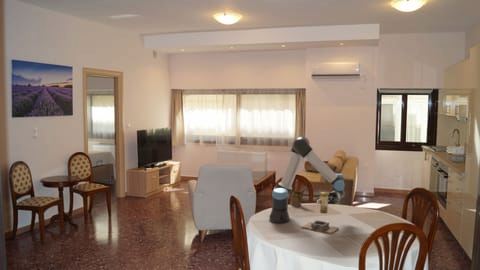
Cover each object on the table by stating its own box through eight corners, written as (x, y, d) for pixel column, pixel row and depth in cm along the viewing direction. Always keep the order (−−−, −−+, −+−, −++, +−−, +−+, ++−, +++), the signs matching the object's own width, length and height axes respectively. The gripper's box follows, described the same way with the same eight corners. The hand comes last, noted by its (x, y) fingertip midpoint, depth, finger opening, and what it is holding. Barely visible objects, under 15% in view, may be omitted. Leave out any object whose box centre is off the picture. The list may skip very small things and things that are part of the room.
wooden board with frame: (301, 228, 277) (301, 222, 277) (309, 223, 289) (309, 217, 288) (331, 234, 265) (331, 228, 265) (338, 228, 277) (338, 223, 276)
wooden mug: (302, 207, 333) (303, 186, 331) (288, 204, 341) (288, 184, 339) (307, 205, 340) (307, 184, 339) (293, 202, 348) (293, 182, 346)
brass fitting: (317, 212, 274) (318, 192, 272) (321, 210, 279) (321, 191, 278) (326, 214, 270) (327, 194, 269) (329, 212, 275) (330, 192, 274)
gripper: (345, 203, 284) (333, 210, 265) (321, 199, 294) (308, 206, 275) (345, 193, 284) (334, 199, 264) (321, 190, 294) (309, 195, 274)
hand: (321, 203), depth 270 cm, fingers closed on brass fitting, 5 cm apart
